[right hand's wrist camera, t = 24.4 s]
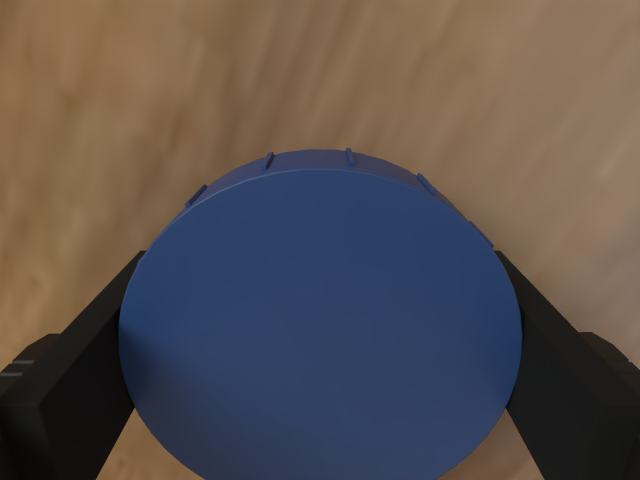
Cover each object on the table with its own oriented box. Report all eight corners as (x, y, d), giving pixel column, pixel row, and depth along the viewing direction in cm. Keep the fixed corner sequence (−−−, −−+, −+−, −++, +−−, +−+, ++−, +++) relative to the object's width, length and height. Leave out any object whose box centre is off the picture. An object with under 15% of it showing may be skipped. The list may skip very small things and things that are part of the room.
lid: (304, 62, 10) (300, 62, 8) (561, 307, 12) (607, 353, 10) (84, 329, 12) (40, 379, 10) (330, 493, 15) (332, 559, 13)
